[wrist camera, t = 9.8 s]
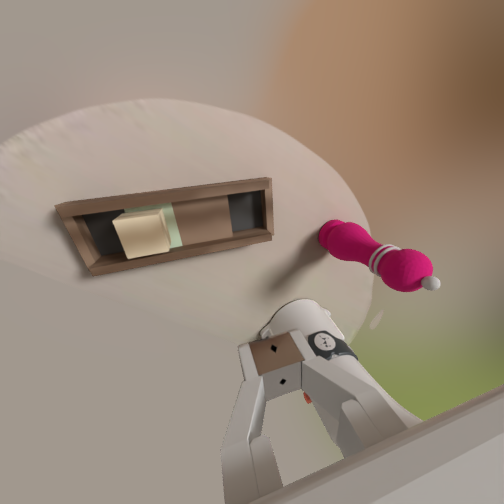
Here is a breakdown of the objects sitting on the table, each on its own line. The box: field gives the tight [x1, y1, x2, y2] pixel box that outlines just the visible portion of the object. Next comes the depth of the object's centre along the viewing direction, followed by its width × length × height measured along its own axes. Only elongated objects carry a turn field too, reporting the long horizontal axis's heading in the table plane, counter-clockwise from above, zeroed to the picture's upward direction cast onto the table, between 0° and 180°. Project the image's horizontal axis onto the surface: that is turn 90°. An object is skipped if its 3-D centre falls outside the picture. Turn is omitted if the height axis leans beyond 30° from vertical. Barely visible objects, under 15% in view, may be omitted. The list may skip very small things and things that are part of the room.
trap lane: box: [55, 177, 274, 276], centre depth 29 cm, size 9×28×4 cm, turn 95°
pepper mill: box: [319, 220, 440, 292], centre depth 32 cm, size 7×7×20 cm
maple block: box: [113, 208, 171, 259], centre depth 26 cm, size 5×5×4 cm
